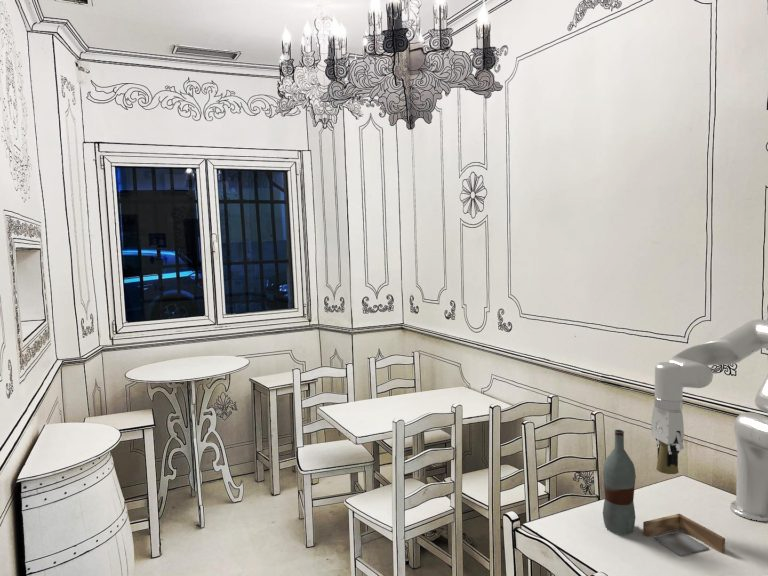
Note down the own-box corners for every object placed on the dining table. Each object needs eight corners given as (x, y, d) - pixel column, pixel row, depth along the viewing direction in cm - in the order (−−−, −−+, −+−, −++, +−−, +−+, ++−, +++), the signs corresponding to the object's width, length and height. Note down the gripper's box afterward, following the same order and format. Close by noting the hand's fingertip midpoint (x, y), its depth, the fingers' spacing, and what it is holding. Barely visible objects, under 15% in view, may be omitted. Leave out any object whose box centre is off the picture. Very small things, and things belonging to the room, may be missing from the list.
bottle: (598, 520, 176) (598, 425, 173) (629, 520, 175) (629, 425, 173) (608, 535, 166) (608, 436, 164) (640, 536, 165) (640, 436, 163)
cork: (683, 472, 169) (683, 436, 168) (667, 475, 167) (668, 439, 166) (666, 465, 174) (667, 430, 174) (651, 468, 172) (652, 433, 171)
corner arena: (679, 526, 170) (679, 513, 170) (724, 552, 156) (725, 538, 155) (643, 534, 166) (643, 521, 166) (686, 562, 151) (686, 547, 151)
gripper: (641, 397, 177) (640, 454, 178) (673, 412, 160) (672, 475, 162) (663, 396, 178) (663, 452, 179) (698, 411, 161) (696, 473, 162)
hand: (667, 462), depth 170 cm, fingers closed on cork, 3 cm apart
